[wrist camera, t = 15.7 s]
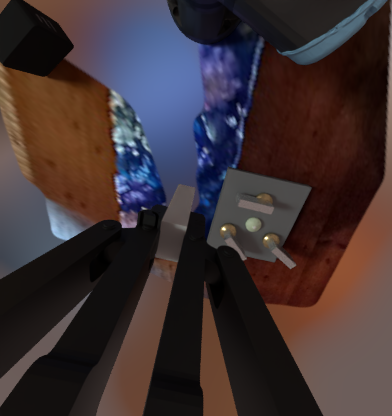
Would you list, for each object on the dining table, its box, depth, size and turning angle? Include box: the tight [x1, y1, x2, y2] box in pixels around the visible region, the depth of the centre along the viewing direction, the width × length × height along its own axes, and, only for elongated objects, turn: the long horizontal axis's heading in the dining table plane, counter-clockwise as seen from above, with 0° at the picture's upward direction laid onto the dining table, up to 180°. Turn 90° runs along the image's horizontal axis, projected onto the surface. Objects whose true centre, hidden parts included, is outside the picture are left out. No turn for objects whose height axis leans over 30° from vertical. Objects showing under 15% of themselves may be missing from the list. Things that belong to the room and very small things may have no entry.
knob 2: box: [236, 193, 274, 214], centre depth 46 cm, size 9×4×6 cm, turn 77°
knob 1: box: [220, 223, 247, 261], centre depth 51 cm, size 9×4×6 cm, turn 35°
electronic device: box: [0, 0, 74, 77], centre depth 36 cm, size 4×10×10 cm, turn 123°
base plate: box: [207, 167, 312, 262], centre depth 52 cm, size 24×21×3 cm
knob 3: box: [262, 233, 296, 269], centre depth 51 cm, size 9×4×6 cm, turn 48°
